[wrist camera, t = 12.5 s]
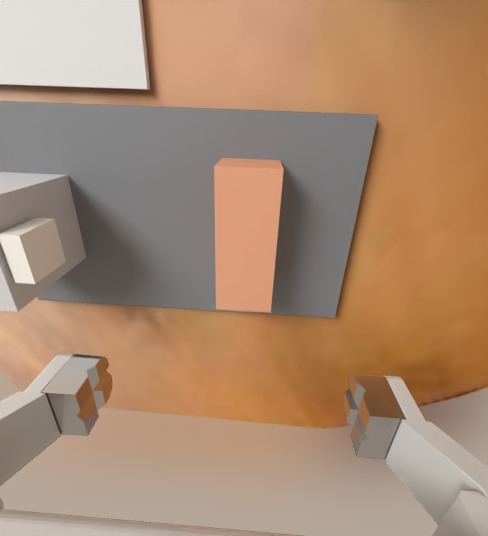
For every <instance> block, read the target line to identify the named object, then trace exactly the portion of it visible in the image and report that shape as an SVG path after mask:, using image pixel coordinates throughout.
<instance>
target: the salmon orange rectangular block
mask: <svg viewBox="0 0 488 536" xmlns="http://www.w3.org/2000/svg"><path fill="white" fill-rule="evenodd" d="M283 171H284V169H283V166H282V164H281V161H280V160H262V159H238V158H222V159H221V160H220V161H219V162H218V163H217V164H216V165H215V166H214V192H215V273H216V309H219V310H236V311H252V312H269V313H271V304H272V293H273V282H274V271H275V260H276V249H277V237H278V226H279V215H280V204H281V193H282V182H283Z"/></svg>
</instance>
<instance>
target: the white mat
mask: <svg viewBox="0 0 488 536" xmlns="http://www.w3.org/2000/svg"><path fill="white" fill-rule="evenodd" d="M0 85H24V86H53V87H82V88H111V89H140V90H150V80H149V69H148V59H147V49H146V38H145V28H144V17H143V7H142V0H0Z"/></svg>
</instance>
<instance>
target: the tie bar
mask: <svg viewBox="0 0 488 536" xmlns="http://www.w3.org/2000/svg"><path fill="white" fill-rule="evenodd" d="M0 243H1V245H2V248H3V251H4V253H5V256H6V259H7V262H8V264H9V267H10V270H11V272H12V275H13V278H14V280H15V283H28V284H36V283H37V282H39V281H40V280H41V279H43V278H44V277H46V276H47V275H48V274H50V273H51V272H52V271H54V270H55V269H57V268H58V267H59V266H61V265H62V264H63V263H65V262H66V260H65V256H64V253H63V249H62V245H61V241H60V238H59V234H58V230H57V227H56V223H55V219H50V218H34V219H32V220H30V221H27V222H25V223H23V224H20V225H18V226H16V227H14V228H11V229H9V230H7V231H4V232H2V233H0Z"/></svg>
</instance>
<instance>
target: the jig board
mask: <svg viewBox="0 0 488 536" xmlns="http://www.w3.org/2000/svg"><path fill="white" fill-rule="evenodd" d="M377 118H378V115H373V114H346V113H318V112H291V111H263V110H236V109H208V108H181V107H153V106H126V105H99V104H71V103H44V102H16V101H0V233H2V232H4V231H7V230H9V229H11V228H14V227H16V226H18V225H20V224H23V223H25V222H27V221H30V220H32V219H34V218H50V219H55V223H56V227H57V230H58V234H59V238H60V241H61V245H62V249H63V253H64V256H65V260H66V262H65V263H63V264H62V265H61V266H59V267H58V268H57V269H55V270H54V271H52V272H51V273H50V274H48V275H47V276H46V277H44V278H43V279H41V280H40V281H39V282H37V283H36V284H28V283H15V280H14V278H13V275H12V272H11V270H10V267H9V264H8V262H7V259H6V256H5V253H4V251H3V248H2V245H1V243H0V310H1V311H17V312H18V311H19V310H20V309H22V308H23V307H24V306H25V305H27V304H28V303H29V302H30V301H32V300H33V299H34V298H36V297H37V296H38V299H39V300H49V301H65V302H81V303H98V304H114V305H130V306H147V307H163V308H179V309H196V310H212V311H228V312H245V313H261V314H277V315H294V316H310V317H327V318H335V315H336V310H337V305H338V301H339V296H340V291H341V287H342V282H343V277H344V273H345V268H346V263H347V259H348V254H349V249H350V245H351V240H352V235H353V231H354V226H355V221H356V217H357V212H358V207H359V203H360V198H361V193H362V189H363V184H364V179H365V175H366V170H367V165H368V160H369V156H370V151H371V146H372V142H373V137H374V132H375V128H376V123H377ZM222 158H238V159H262V160H280V161H281V164H282V166H283V169H284V171H283V182H282V193H281V204H280V215H279V226H278V237H277V249H276V260H275V271H274V282H273V293H272V304H271V313H269V312H252V311H236V310H219V309H216V273H215V192H214V166H215V165H216V164H217V163H218V162H219V161H220V160H221V159H222Z"/></svg>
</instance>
